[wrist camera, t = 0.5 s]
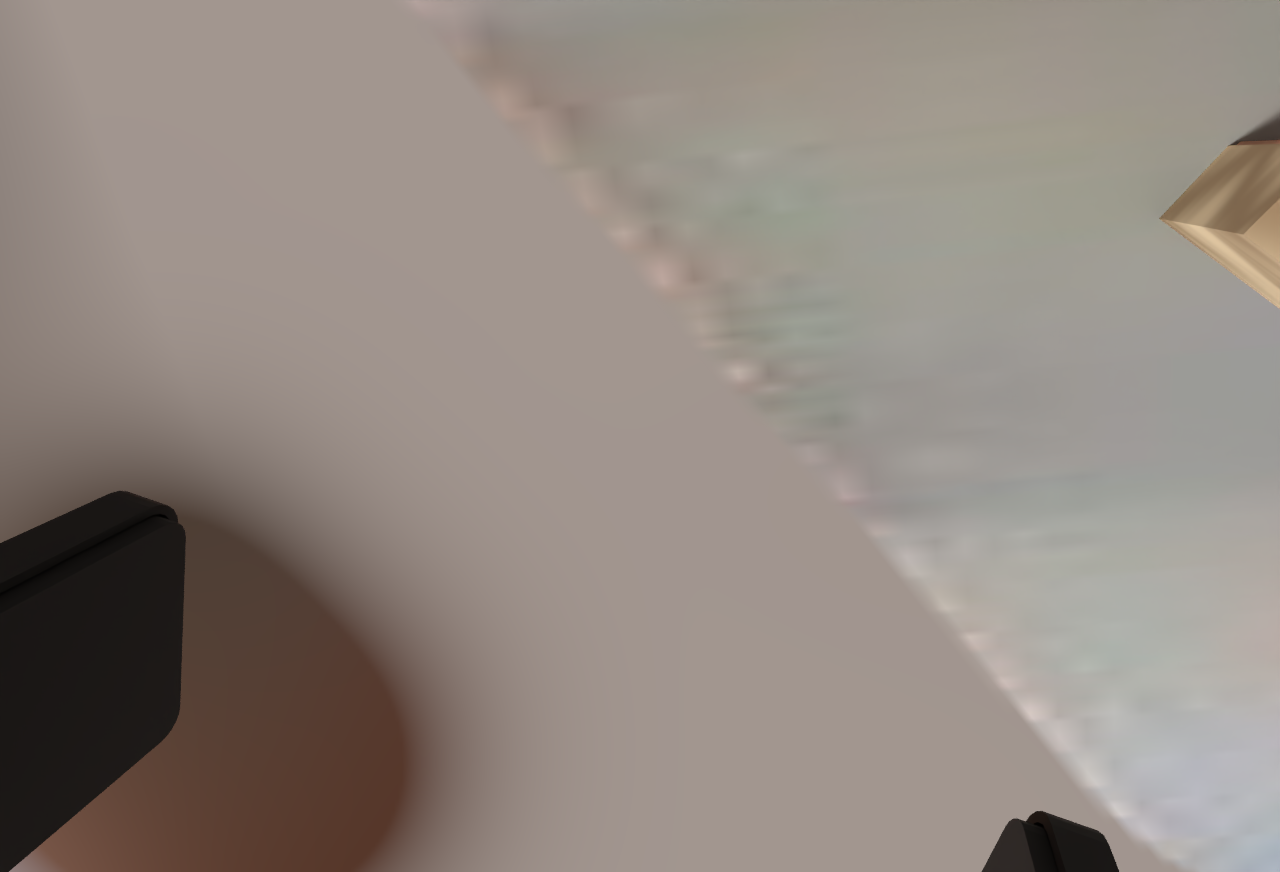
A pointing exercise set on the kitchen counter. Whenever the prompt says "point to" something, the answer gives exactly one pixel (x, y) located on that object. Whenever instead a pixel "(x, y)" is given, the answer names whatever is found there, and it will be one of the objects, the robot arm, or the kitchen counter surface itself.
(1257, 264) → the tan wooden block
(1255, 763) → the kitchen counter surface
